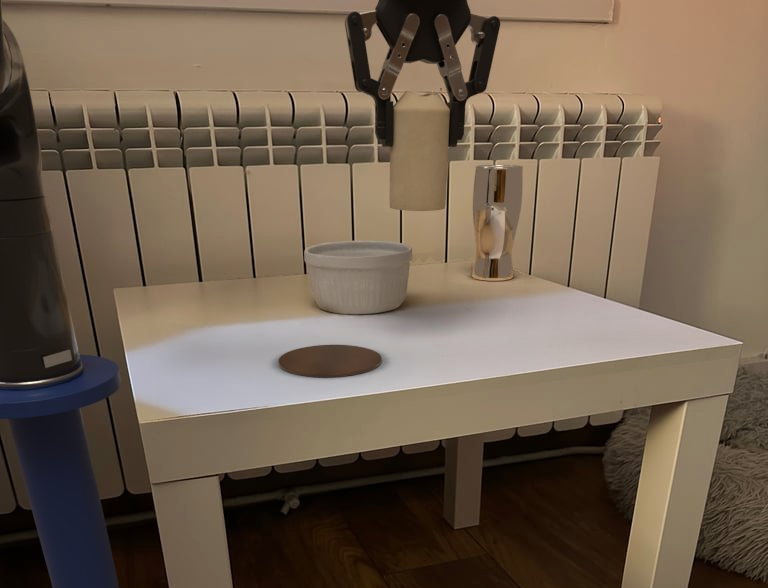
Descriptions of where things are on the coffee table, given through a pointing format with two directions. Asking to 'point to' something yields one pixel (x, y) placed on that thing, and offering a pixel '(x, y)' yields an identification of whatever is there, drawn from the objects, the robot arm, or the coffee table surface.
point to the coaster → (329, 360)
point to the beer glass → (496, 219)
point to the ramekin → (358, 275)
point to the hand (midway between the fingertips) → (418, 145)
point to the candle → (419, 152)
